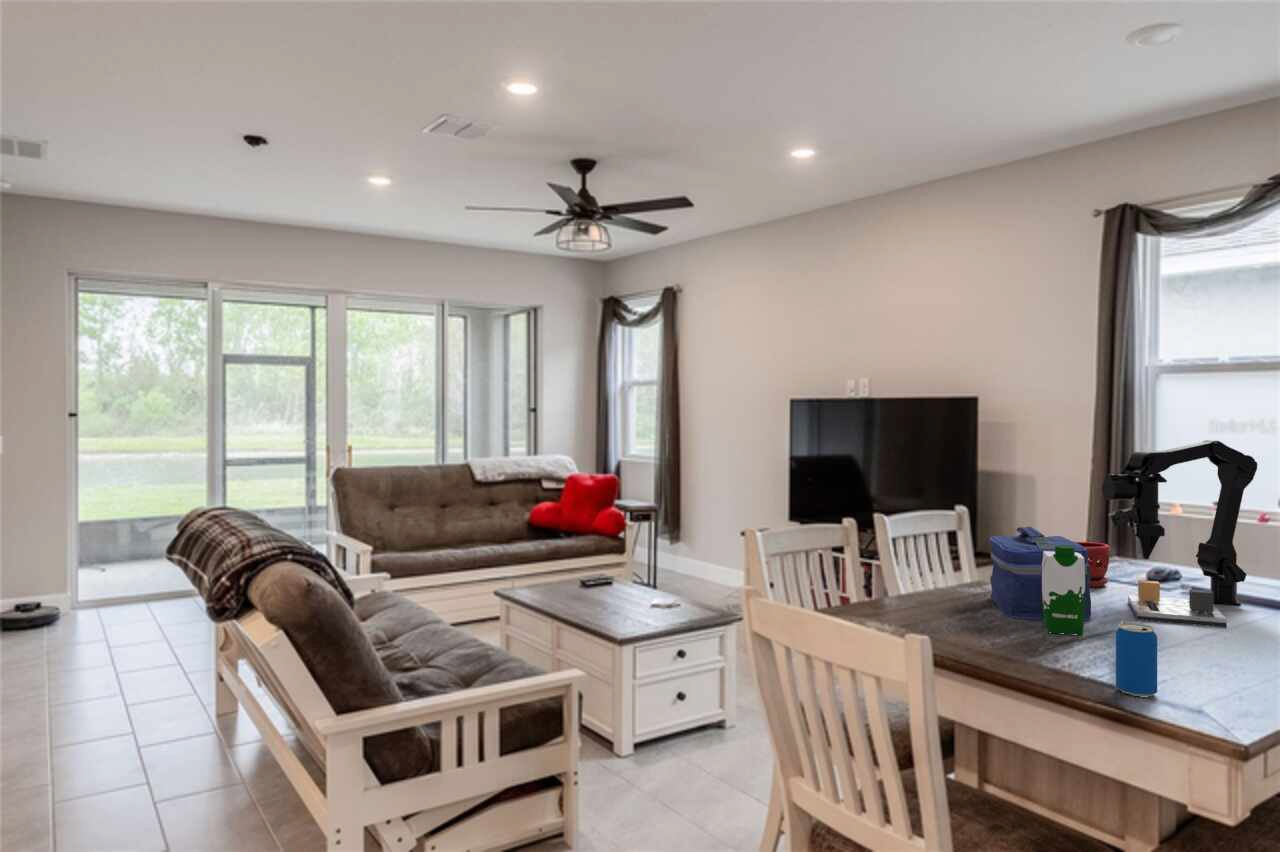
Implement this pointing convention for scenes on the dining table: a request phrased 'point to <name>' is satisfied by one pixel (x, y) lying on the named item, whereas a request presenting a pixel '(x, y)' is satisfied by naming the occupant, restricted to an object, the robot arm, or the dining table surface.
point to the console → (1174, 612)
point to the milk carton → (1063, 590)
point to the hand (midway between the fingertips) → (1145, 558)
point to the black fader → (1201, 601)
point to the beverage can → (1136, 659)
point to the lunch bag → (1026, 572)
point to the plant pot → (1097, 568)
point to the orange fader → (1149, 591)
